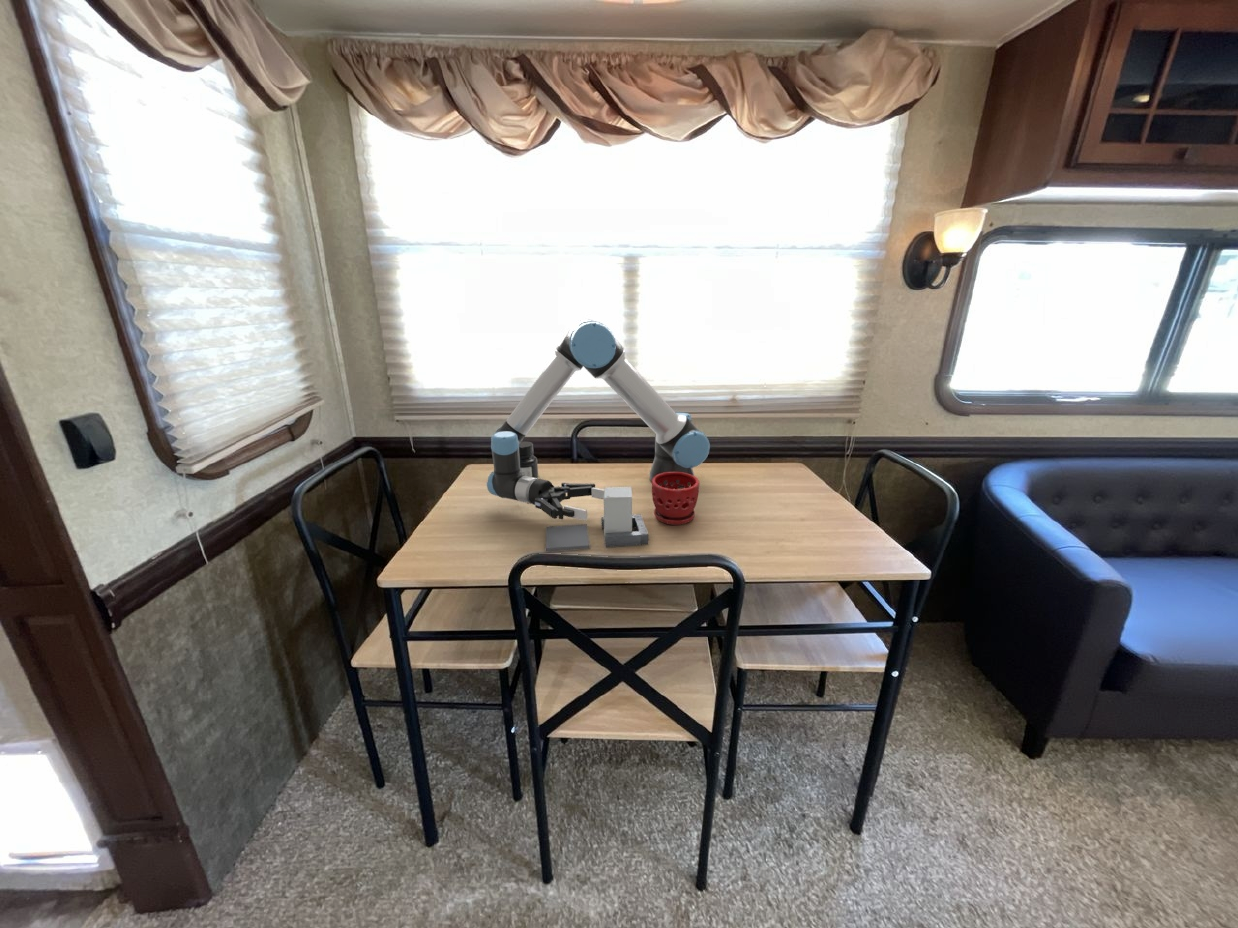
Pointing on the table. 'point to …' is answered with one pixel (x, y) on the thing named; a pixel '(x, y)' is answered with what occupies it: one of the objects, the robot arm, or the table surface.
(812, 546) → the table surface
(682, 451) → the robot arm
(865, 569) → the table surface
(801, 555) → the table surface
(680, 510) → the plant pot
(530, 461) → the ink bottle
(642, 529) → the grey piece
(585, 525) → the mat
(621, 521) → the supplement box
